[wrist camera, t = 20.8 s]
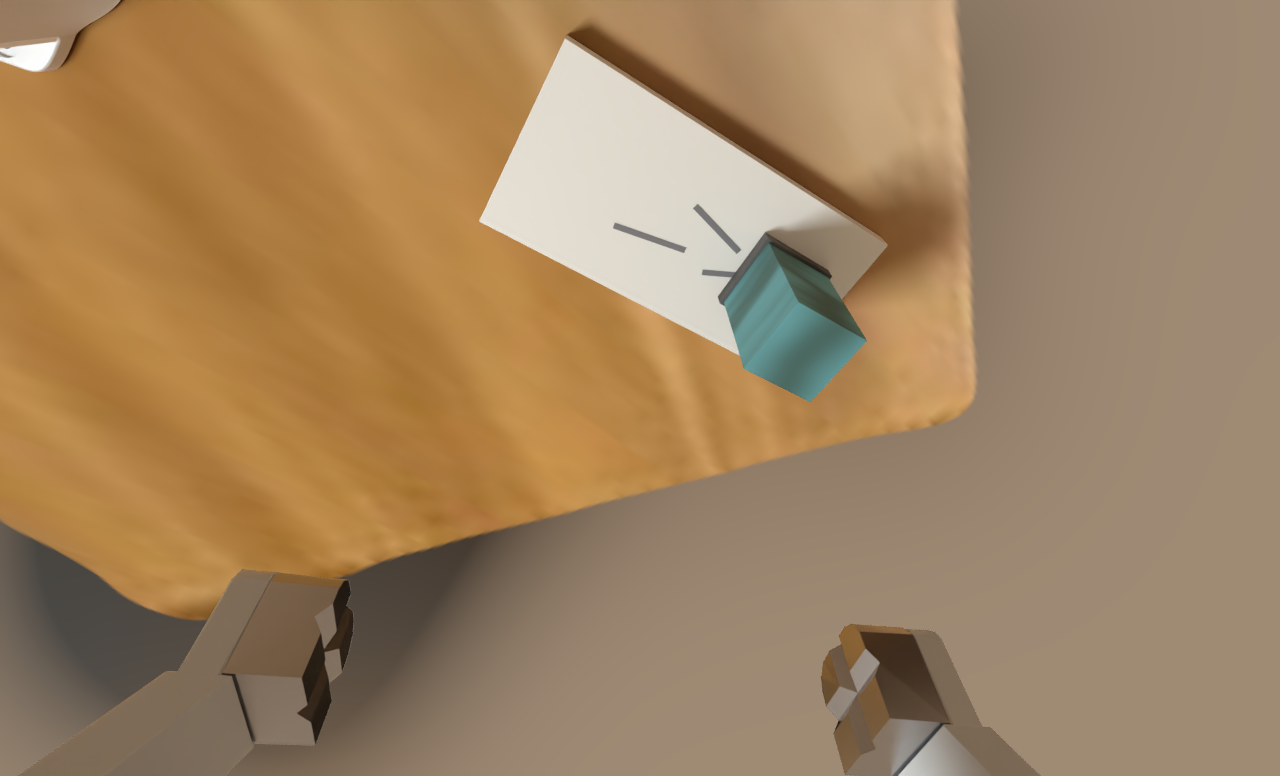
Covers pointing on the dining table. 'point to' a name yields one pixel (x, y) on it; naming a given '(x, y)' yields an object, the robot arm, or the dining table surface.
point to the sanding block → (789, 319)
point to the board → (656, 197)
